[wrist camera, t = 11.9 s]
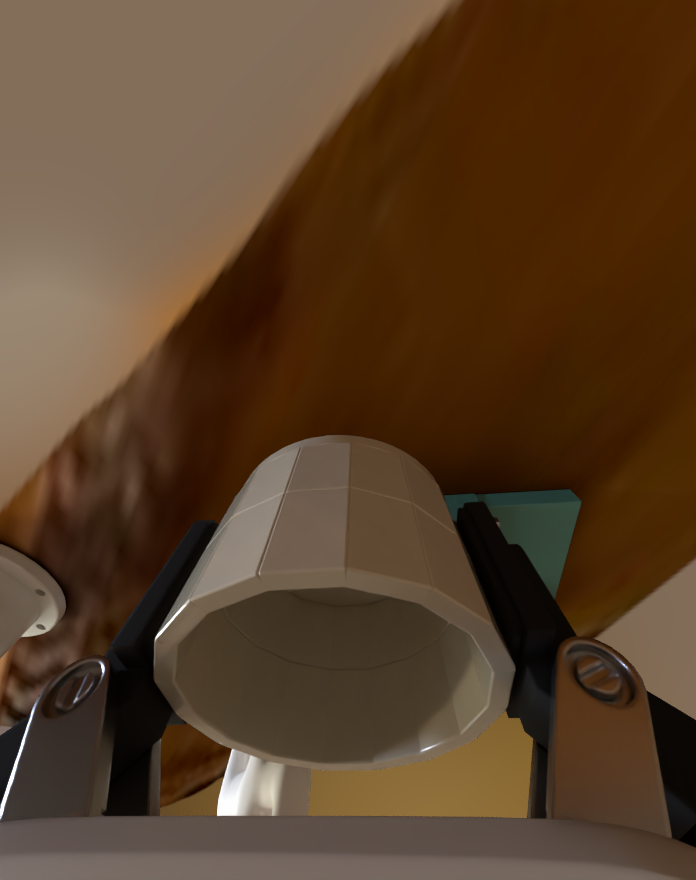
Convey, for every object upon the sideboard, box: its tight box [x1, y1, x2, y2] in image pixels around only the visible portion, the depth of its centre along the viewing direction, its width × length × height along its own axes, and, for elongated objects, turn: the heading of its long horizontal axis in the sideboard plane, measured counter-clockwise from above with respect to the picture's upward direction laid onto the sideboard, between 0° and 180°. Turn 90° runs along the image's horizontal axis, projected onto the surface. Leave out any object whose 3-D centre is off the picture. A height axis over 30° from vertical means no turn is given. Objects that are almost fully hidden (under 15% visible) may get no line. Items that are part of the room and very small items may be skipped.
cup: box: [153, 435, 516, 771], centre depth 9 cm, size 7×7×5 cm
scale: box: [476, 489, 581, 600], centre depth 25 cm, size 16×14×3 cm
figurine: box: [217, 749, 311, 816], centre depth 25 cm, size 7×9×15 cm
